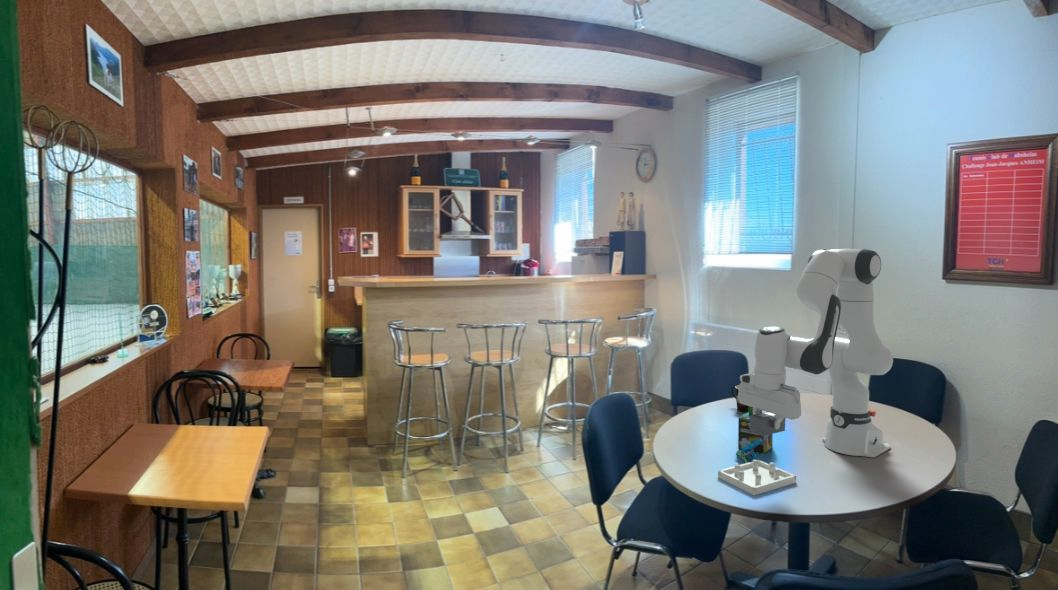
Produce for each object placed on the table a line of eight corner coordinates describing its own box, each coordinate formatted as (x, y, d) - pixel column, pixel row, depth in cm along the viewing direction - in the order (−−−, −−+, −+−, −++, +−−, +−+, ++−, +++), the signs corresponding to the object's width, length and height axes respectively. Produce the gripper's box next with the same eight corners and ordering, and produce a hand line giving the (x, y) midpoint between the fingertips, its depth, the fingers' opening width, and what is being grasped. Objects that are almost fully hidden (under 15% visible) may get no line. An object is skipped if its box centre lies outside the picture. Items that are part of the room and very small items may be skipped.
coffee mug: (759, 413, 239) (759, 390, 238) (738, 413, 239) (739, 390, 238) (748, 405, 251) (749, 383, 250) (729, 405, 251) (729, 383, 250)
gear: (749, 446, 197) (765, 433, 190) (759, 461, 194) (776, 449, 187) (727, 457, 192) (742, 444, 185) (737, 472, 189) (754, 460, 182)
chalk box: (772, 447, 201) (774, 407, 199) (763, 455, 194) (765, 413, 193) (746, 441, 207) (748, 402, 205) (737, 448, 200) (738, 407, 199)
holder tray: (758, 466, 184) (759, 454, 184) (796, 482, 172) (796, 470, 172) (717, 477, 176) (718, 465, 176) (754, 495, 164) (754, 482, 164)
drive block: (772, 426, 176) (773, 410, 175) (784, 430, 172) (785, 414, 171) (749, 431, 171) (750, 414, 170) (762, 436, 167) (762, 419, 166)
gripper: (807, 387, 162) (805, 434, 163) (749, 372, 180) (748, 415, 181) (792, 390, 159) (790, 437, 160) (735, 374, 177) (733, 417, 178)
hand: (767, 425), depth 171 cm, fingers closed on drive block, 4 cm apart
